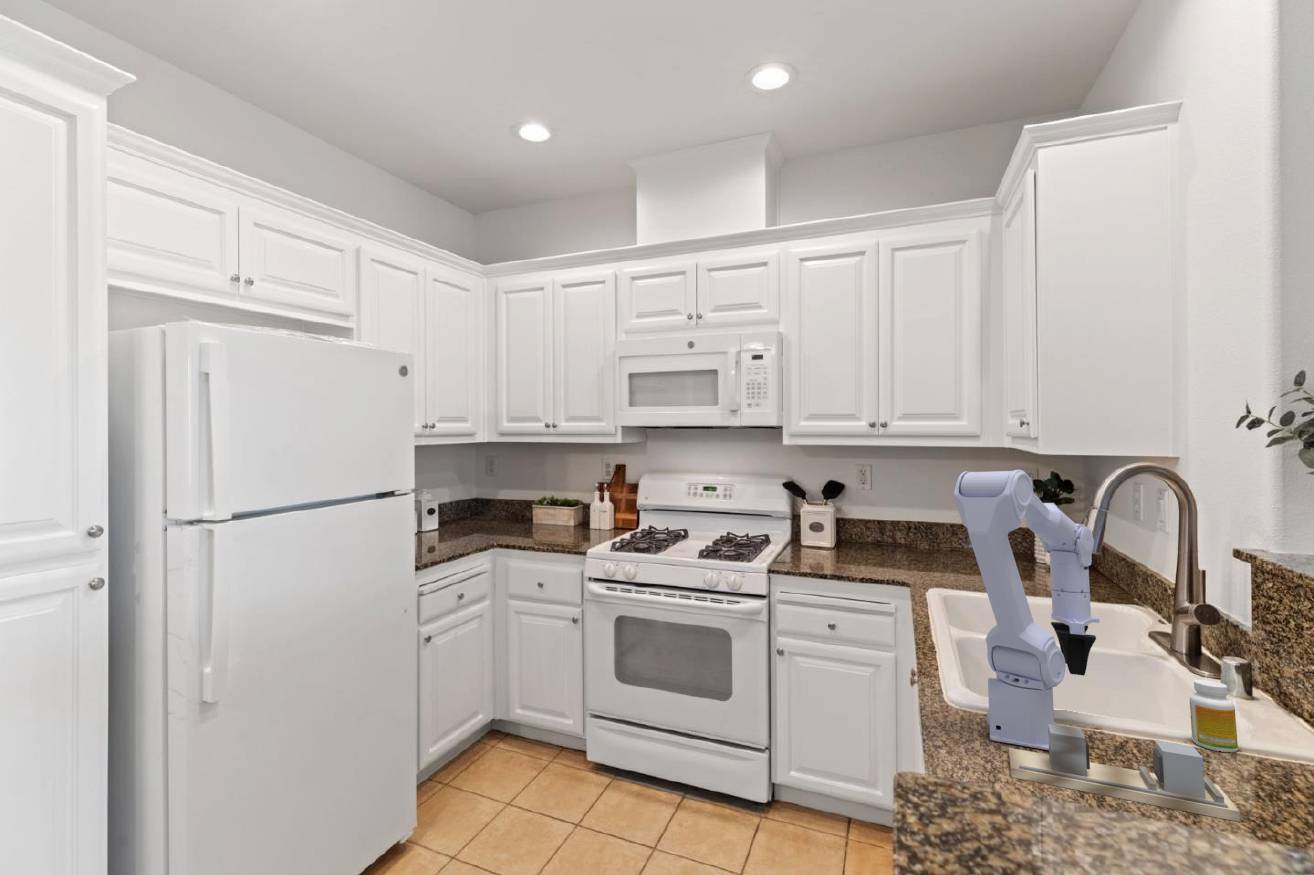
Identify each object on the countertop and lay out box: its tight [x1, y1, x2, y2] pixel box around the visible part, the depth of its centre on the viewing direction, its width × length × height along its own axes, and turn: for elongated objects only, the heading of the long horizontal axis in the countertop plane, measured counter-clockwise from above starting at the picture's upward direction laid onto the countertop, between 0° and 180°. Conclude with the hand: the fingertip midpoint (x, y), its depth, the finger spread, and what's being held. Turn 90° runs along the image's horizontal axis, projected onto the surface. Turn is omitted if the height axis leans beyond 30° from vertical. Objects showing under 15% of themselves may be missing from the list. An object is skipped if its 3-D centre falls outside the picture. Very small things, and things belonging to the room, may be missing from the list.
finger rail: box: [1008, 724, 1242, 823], centre depth 83 cm, size 24×8×6 cm, turn 62°
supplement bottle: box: [1189, 679, 1239, 753], centre depth 98 cm, size 5×5×10 cm
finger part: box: [1151, 740, 1205, 799], centre depth 80 cm, size 4×4×5 cm
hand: (1074, 669), depth 108 cm, fingers open, 7 cm apart
